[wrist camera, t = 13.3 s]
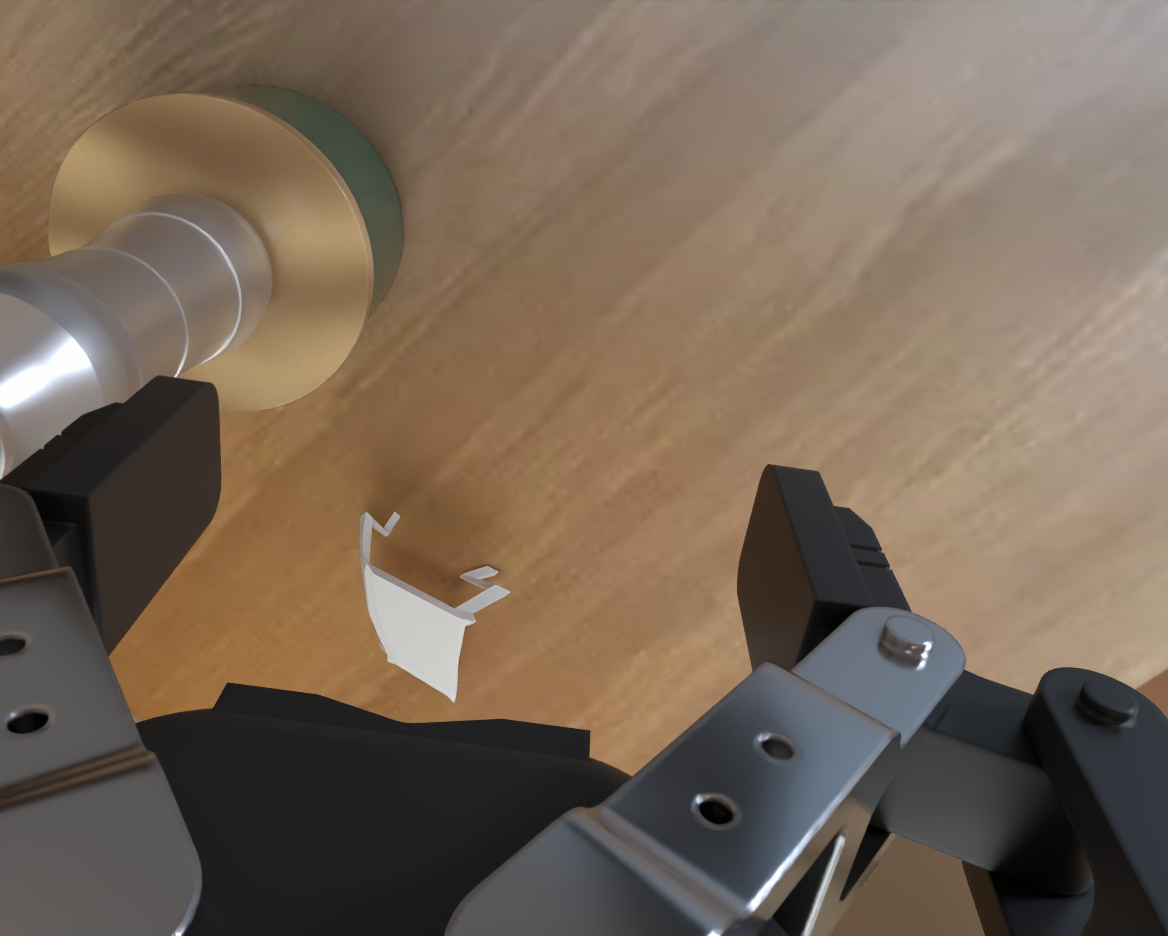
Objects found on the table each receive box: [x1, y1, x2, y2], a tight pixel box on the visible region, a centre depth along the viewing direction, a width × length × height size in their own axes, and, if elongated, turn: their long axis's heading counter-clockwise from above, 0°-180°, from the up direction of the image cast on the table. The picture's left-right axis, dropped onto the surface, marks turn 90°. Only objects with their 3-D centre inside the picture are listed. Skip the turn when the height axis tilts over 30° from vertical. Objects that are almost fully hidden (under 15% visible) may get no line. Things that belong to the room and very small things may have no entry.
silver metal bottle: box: [0, 194, 273, 480], centre depth 32 cm, size 6×7×20 cm
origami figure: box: [359, 512, 510, 702], centre depth 55 cm, size 12×8×5 cm
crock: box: [48, 85, 403, 412], centre depth 45 cm, size 14×14×9 cm
